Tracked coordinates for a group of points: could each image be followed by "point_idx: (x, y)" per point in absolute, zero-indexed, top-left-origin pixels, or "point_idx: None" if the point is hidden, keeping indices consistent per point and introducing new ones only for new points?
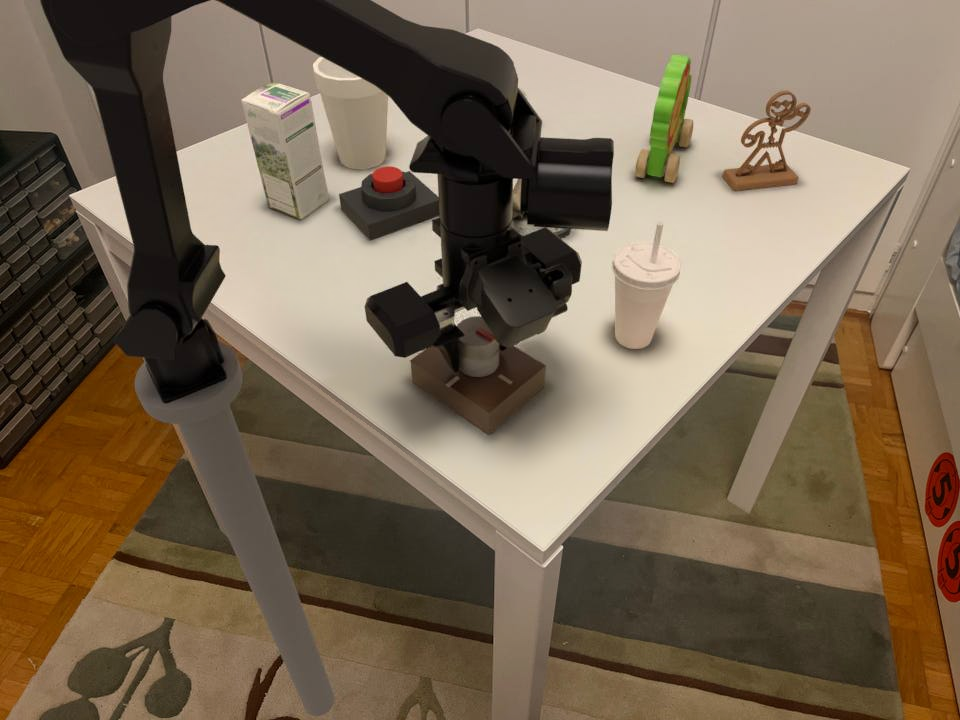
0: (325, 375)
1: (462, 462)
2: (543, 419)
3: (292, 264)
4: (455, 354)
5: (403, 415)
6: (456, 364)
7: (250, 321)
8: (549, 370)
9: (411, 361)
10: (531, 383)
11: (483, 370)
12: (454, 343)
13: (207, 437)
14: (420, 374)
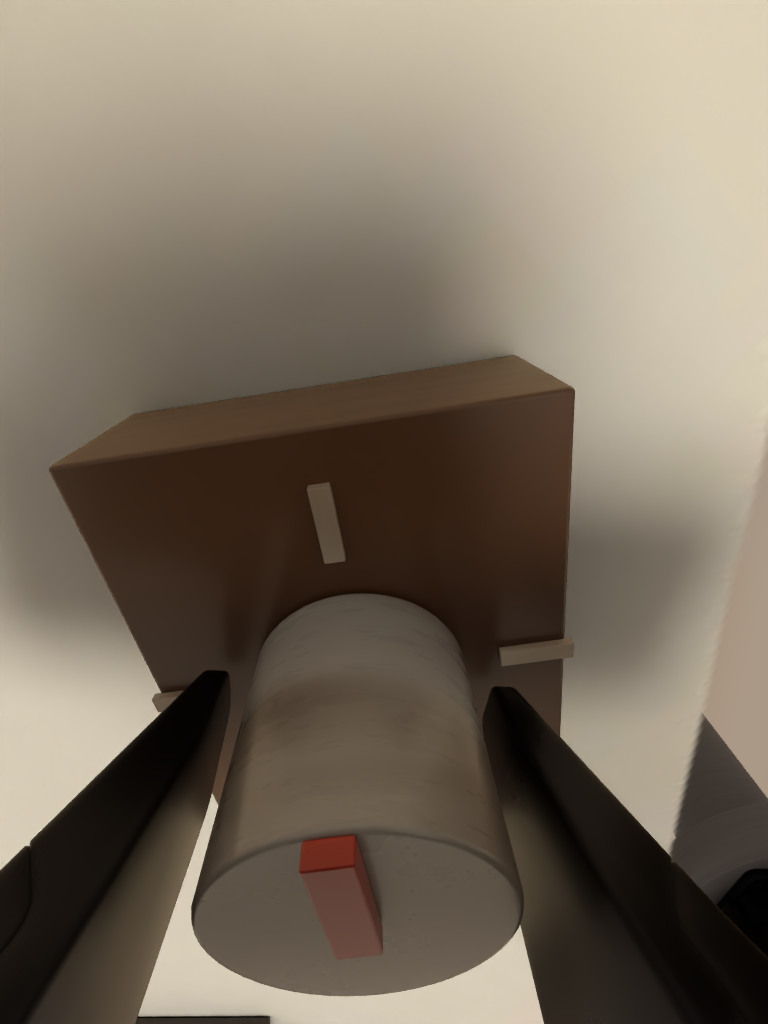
0: (660, 814)
1: (709, 310)
2: (252, 255)
3: (452, 1020)
4: (605, 836)
5: (648, 618)
6: (539, 738)
7: None
8: None
9: None
10: (199, 430)
11: (411, 631)
12: (730, 1019)
13: (718, 743)
14: None
